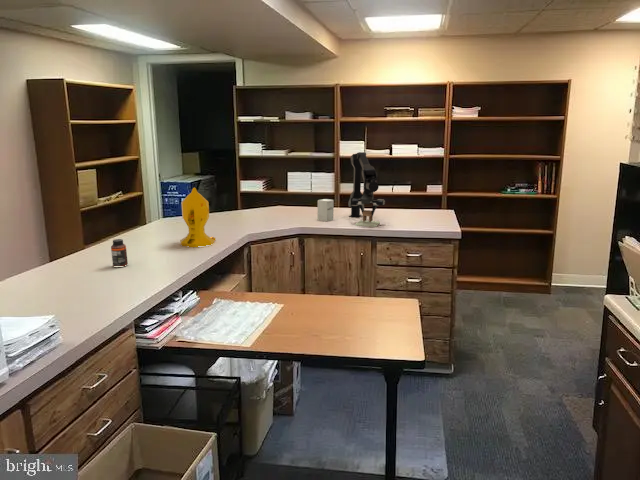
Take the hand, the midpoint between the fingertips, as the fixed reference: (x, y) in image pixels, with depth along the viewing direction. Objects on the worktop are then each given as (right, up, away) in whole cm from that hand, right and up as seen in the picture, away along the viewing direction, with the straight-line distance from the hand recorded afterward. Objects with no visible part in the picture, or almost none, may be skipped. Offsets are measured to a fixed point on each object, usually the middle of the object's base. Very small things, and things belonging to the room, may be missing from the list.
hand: (367, 216), depth 306 cm
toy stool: (0, -3, +1) cm, 3 cm away
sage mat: (0, -5, +1) cm, 5 cm away
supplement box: (-25, -2, +15) cm, 29 cm away
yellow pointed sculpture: (-89, -16, -46) cm, 101 cm away
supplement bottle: (-112, -25, -87) cm, 144 cm away
